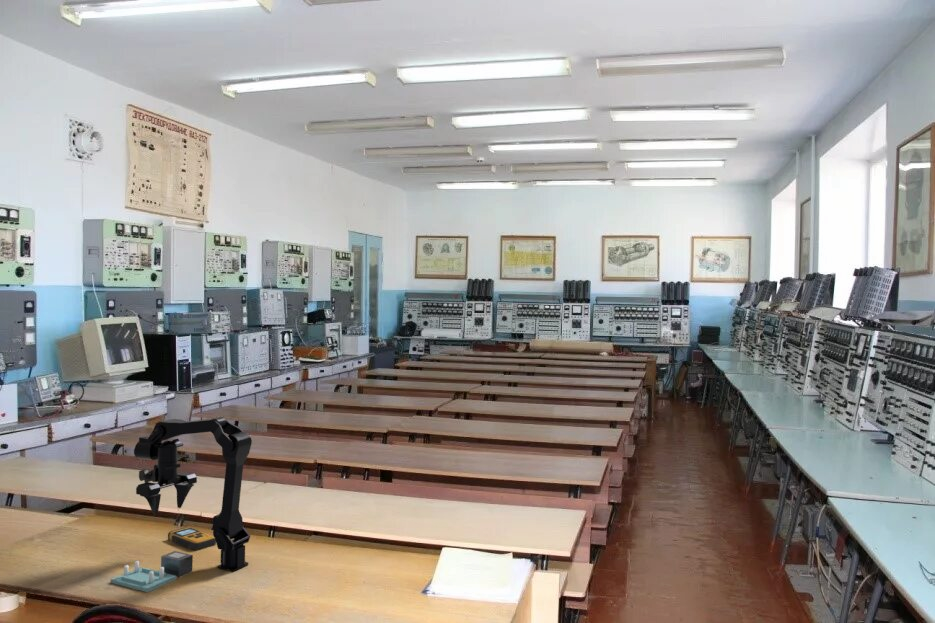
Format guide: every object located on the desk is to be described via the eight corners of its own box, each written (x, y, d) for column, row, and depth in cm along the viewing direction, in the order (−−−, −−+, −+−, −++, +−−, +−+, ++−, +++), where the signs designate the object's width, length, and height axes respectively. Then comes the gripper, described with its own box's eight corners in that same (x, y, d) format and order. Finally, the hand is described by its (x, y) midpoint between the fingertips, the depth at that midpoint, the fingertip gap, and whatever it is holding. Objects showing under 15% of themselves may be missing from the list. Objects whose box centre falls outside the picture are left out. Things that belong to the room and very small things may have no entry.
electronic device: (194, 553, 228) (194, 542, 227) (166, 541, 237) (166, 531, 237) (218, 546, 234) (218, 535, 234) (189, 535, 244) (189, 525, 243)
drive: (192, 572, 211) (192, 554, 211) (178, 577, 207) (179, 560, 206) (174, 567, 214) (174, 550, 214) (160, 573, 210) (161, 555, 209)
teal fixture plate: (176, 579, 205) (176, 565, 205) (147, 592, 196) (147, 577, 196) (140, 570, 211) (140, 556, 211) (110, 582, 202) (110, 568, 202)
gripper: (172, 452, 235) (172, 501, 235) (122, 464, 218) (123, 516, 218) (198, 456, 230) (198, 505, 230) (149, 468, 213) (149, 521, 213)
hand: (167, 511), depth 223 cm, fingers open, 9 cm apart
